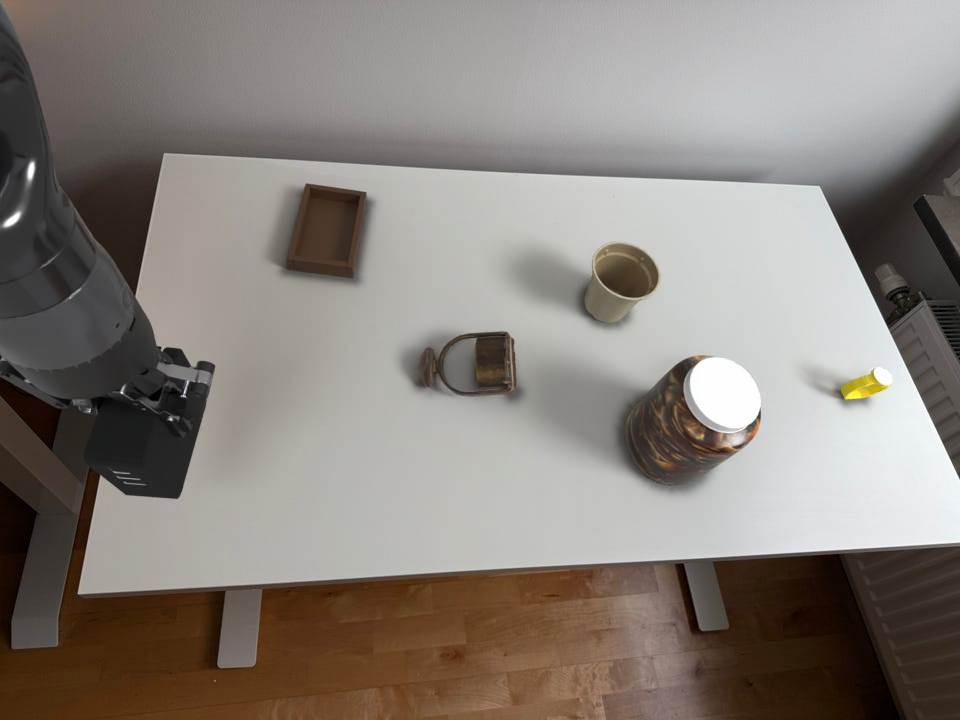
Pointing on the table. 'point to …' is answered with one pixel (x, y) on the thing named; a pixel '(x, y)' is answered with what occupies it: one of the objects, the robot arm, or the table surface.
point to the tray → (327, 231)
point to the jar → (693, 419)
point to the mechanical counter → (478, 363)
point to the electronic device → (140, 447)
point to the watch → (875, 380)
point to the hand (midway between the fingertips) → (152, 422)
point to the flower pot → (620, 280)
